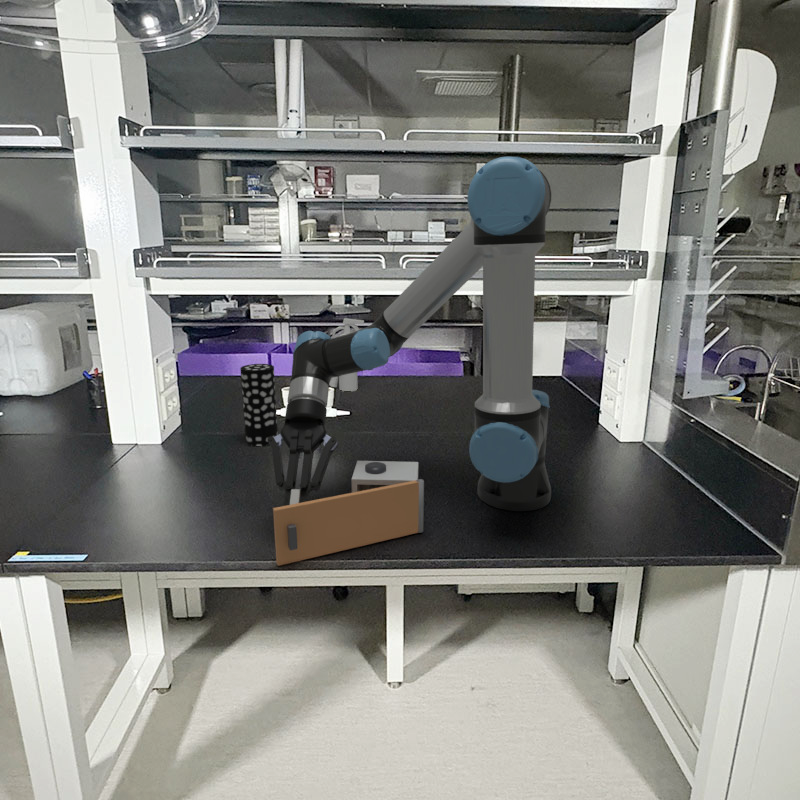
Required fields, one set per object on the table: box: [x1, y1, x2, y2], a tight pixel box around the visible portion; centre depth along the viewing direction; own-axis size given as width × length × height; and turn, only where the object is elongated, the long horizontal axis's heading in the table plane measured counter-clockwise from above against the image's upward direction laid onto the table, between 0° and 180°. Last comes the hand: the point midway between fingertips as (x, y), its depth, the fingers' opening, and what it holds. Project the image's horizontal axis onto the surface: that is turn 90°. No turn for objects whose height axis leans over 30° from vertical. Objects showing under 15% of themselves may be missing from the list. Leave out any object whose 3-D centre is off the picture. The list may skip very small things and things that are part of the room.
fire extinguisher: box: [329, 317, 365, 392], centre depth 203 cm, size 7×12×25 cm, turn 87°
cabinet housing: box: [351, 460, 419, 493], centre depth 112 cm, size 12×9×11 cm
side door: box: [272, 478, 425, 566], centre depth 101 cm, size 27×2×10 cm, turn 115°
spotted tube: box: [239, 363, 279, 447], centre depth 153 cm, size 8×8×20 cm
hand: (292, 528), depth 100 cm, fingers closed
